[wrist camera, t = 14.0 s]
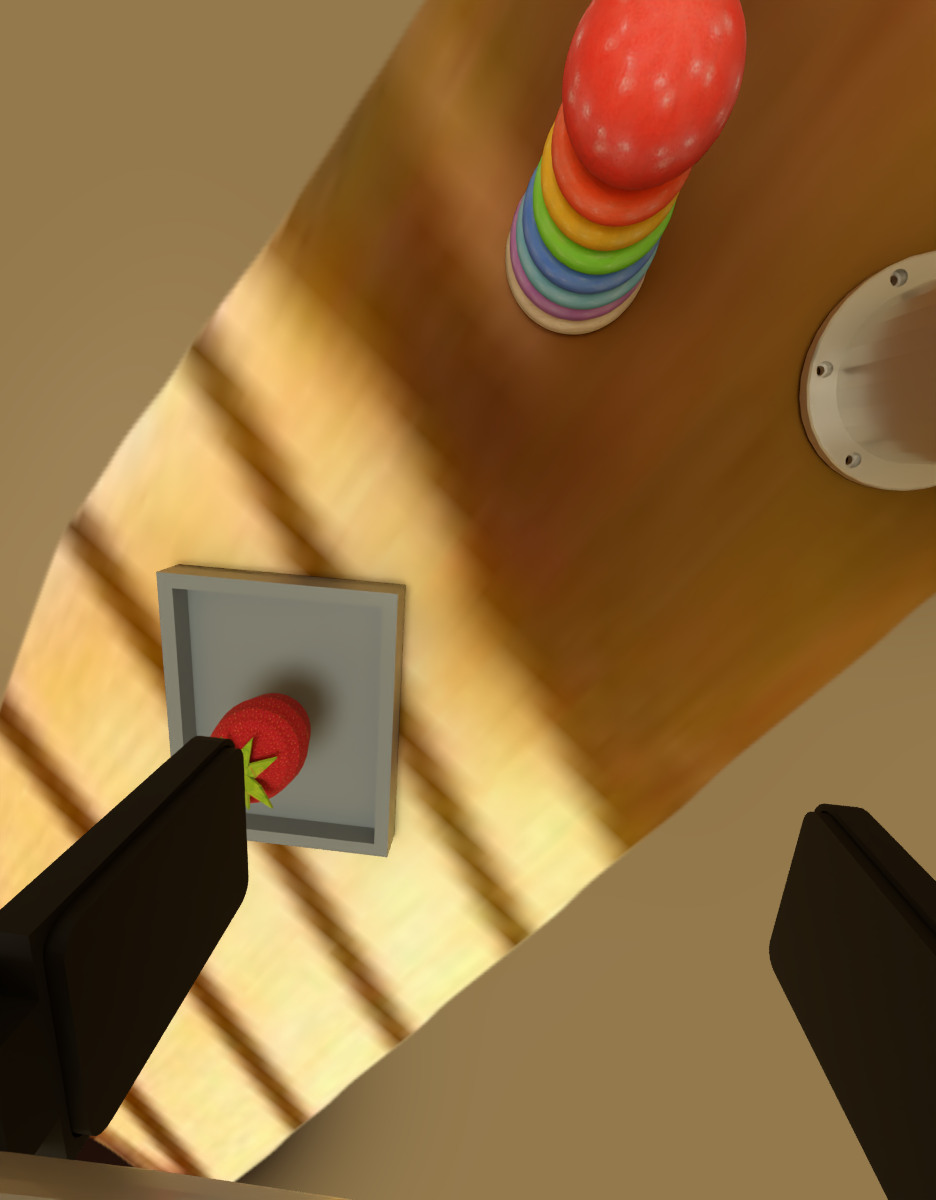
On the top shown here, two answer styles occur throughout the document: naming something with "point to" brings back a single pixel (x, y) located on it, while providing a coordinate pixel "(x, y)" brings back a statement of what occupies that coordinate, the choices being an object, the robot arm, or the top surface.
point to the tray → (295, 689)
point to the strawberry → (267, 742)
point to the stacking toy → (621, 153)
